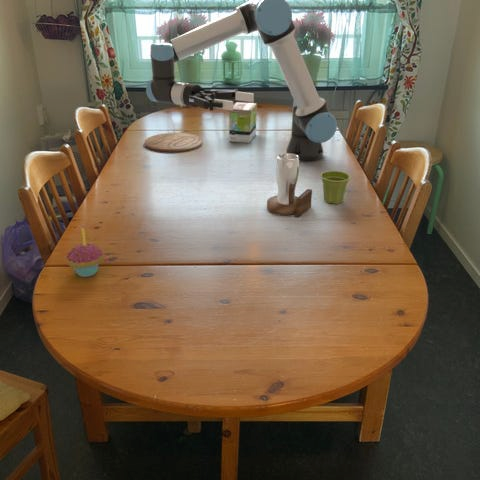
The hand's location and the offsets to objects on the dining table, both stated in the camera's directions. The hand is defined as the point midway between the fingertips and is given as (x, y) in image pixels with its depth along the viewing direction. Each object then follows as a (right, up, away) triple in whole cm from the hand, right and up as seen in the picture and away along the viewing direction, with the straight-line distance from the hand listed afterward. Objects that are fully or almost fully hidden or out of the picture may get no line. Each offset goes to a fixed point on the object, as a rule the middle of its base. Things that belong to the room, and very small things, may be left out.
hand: (243, 101), depth 159 cm
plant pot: (+30, -31, +6) cm, 43 cm away
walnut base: (+14, -34, 0) cm, 36 cm away
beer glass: (+14, -32, -1) cm, 35 cm away
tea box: (0, +3, +70) cm, 70 cm away
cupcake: (-39, -52, -35) cm, 74 cm away
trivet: (-30, -2, +61) cm, 69 cm away
